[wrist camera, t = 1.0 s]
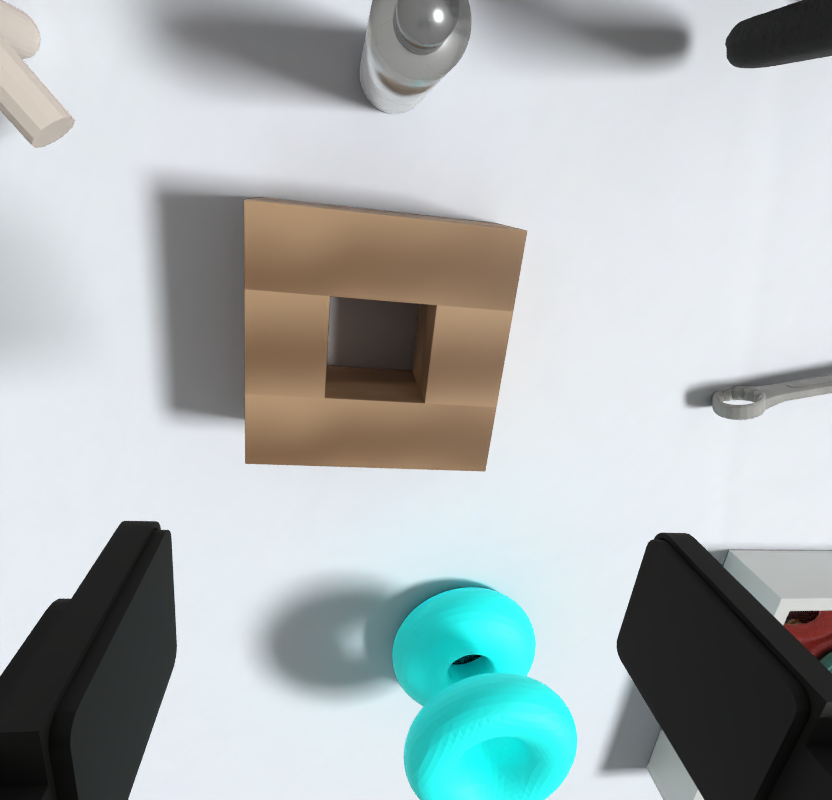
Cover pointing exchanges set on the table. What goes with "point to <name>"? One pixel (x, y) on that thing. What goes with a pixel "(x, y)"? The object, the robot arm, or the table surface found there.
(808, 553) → the parts tray
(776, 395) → the combination wrench
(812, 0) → the milk frother
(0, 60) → the pipe connector
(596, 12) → the table surface
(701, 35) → the table surface
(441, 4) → the round bit
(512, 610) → the donuts
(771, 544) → the table surface
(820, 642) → the stacking toy figures
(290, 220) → the socket block
